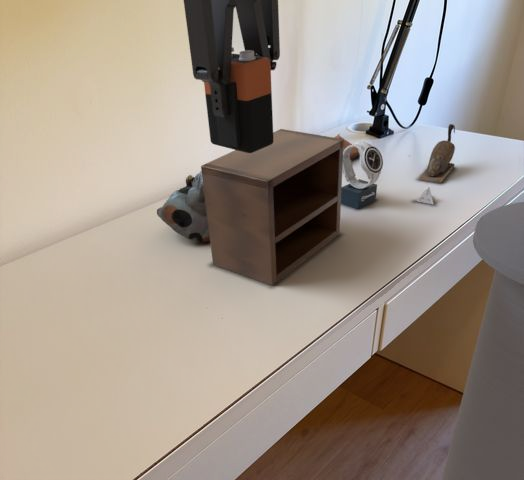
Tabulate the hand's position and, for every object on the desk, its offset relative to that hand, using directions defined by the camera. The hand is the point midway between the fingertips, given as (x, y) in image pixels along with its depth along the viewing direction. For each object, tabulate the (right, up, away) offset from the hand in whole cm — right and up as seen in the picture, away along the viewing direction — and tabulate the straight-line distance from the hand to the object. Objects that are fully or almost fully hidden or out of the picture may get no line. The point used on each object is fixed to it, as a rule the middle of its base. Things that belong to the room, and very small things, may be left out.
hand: (244, 137), depth 62 cm
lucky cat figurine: (-8, -2, +35) cm, 36 cm away
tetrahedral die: (+34, +4, +40) cm, 52 cm away
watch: (+21, +4, +41) cm, 46 cm away
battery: (0, -1, +1) cm, 1 cm away
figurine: (+40, +14, +51) cm, 67 cm away
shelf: (+5, -8, +27) cm, 29 cm away
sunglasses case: (+18, +18, +59) cm, 64 cm away
